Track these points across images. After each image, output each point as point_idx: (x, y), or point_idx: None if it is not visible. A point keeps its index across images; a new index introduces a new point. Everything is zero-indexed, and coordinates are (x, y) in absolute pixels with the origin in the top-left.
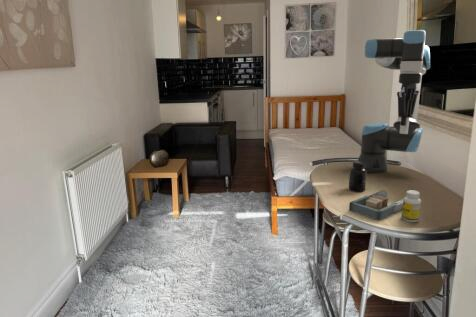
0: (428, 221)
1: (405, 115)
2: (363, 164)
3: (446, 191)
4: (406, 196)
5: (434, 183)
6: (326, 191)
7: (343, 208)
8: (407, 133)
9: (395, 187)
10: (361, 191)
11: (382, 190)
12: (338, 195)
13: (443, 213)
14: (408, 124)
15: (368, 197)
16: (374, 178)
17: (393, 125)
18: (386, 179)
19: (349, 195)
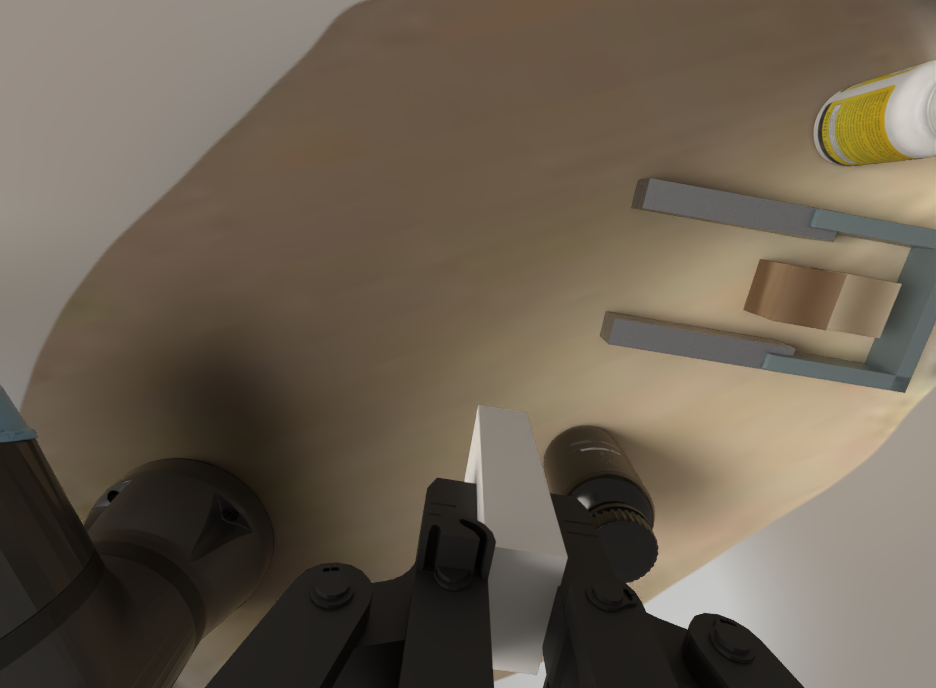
0: (833, 45)
1: (692, 626)
2: (633, 518)
3: (296, 85)
4: (930, 145)
5: (191, 182)
6: (690, 545)
7: (863, 405)
8: (491, 407)
9: (421, 330)
10: (604, 431)
11: (618, 343)
12: (712, 486)
13: (680, 10)
14: (495, 469)
15: (777, 355)
16: (344, 462)
17: None
18: (316, 411)
19: (684, 451)
